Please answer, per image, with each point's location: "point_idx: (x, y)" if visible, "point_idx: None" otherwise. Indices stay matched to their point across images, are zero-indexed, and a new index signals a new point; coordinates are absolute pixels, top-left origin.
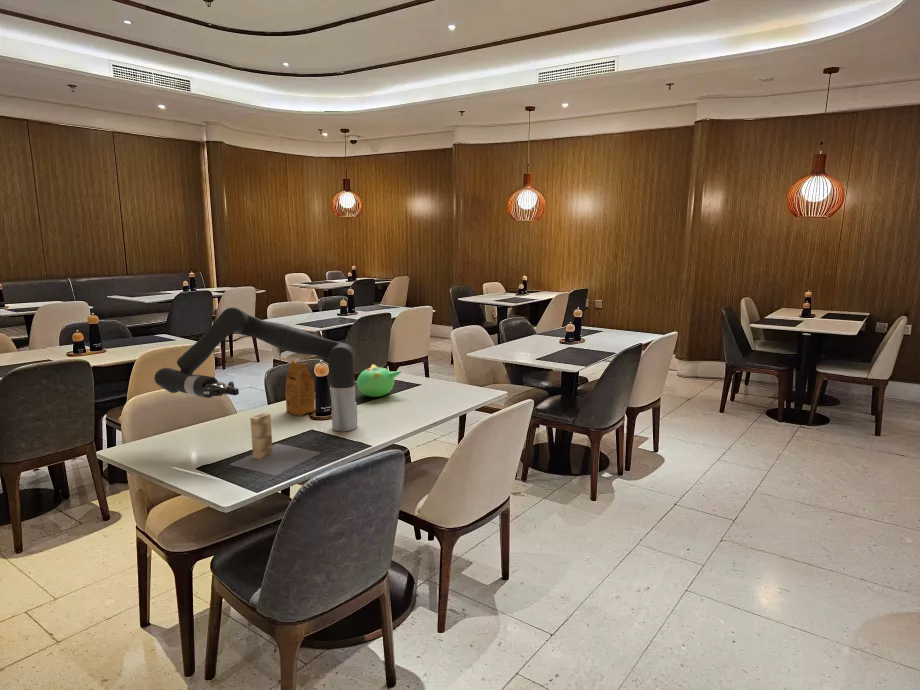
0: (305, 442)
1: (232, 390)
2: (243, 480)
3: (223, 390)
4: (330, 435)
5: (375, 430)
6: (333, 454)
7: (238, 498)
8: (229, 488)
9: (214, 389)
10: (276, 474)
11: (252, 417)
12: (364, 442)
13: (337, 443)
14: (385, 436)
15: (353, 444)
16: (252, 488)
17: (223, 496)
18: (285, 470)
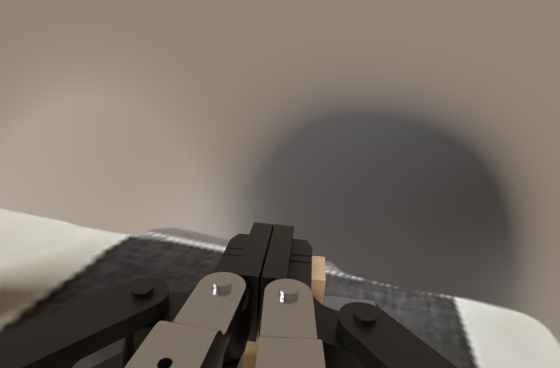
0: (95, 355)
1: (303, 244)
2: (444, 354)
3: (331, 316)
4: (22, 319)
5: (4, 250)
6: (198, 266)
7: (501, 312)
8: (500, 356)
9: (445, 365)
10: (368, 302)
11: (317, 276)
12: (108, 246)
13: (113, 282)
14: (65, 230)
15: (123, 257)
16: (450, 314)
17: (532, 342)
18: (338, 297)
